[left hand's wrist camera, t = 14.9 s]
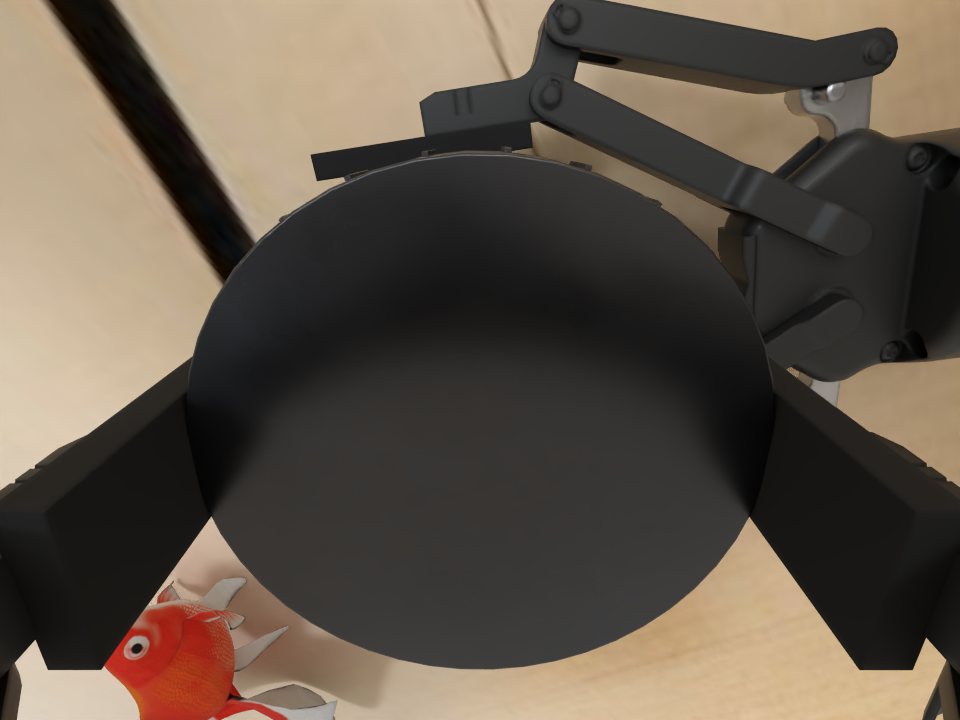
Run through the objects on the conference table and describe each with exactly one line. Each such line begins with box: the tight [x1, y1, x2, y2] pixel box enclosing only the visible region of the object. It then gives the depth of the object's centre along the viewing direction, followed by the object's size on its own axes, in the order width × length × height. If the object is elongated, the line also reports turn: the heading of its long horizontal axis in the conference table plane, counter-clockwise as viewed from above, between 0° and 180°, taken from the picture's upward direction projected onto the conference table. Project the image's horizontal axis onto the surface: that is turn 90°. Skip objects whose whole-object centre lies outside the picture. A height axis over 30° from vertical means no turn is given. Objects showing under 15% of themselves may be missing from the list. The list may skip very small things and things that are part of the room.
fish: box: [104, 577, 337, 720], centre depth 30 cm, size 11×16×10 cm
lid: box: [186, 147, 775, 669], centre depth 11 cm, size 11×11×2 cm
